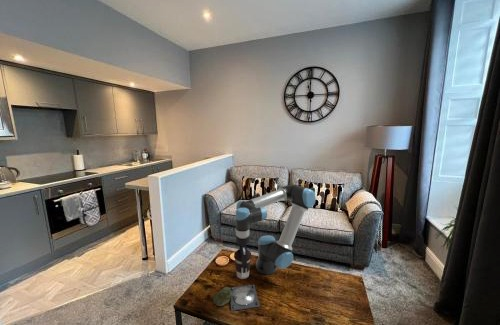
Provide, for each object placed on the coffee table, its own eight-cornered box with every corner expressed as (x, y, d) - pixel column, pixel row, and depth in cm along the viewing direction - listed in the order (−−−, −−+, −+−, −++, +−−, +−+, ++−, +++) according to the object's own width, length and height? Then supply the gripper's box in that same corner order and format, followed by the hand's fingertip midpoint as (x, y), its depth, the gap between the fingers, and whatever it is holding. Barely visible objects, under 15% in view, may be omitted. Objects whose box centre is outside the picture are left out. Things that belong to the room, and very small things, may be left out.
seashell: (209, 302, 121) (216, 283, 125) (213, 301, 127) (220, 283, 132) (225, 309, 118) (232, 289, 122) (229, 308, 124) (235, 289, 129)
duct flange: (254, 285, 135) (254, 283, 135) (259, 306, 120) (259, 304, 120) (229, 289, 133) (229, 286, 132) (231, 311, 117) (231, 308, 117)
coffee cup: (254, 274, 124) (254, 251, 121) (242, 283, 117) (242, 259, 114) (242, 266, 130) (242, 244, 128) (230, 275, 123) (230, 251, 121)
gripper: (234, 227, 129) (234, 260, 133) (238, 246, 108) (238, 285, 112) (246, 226, 130) (246, 259, 134) (252, 245, 109) (252, 283, 113)
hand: (243, 271), depth 123 cm, fingers closed on coffee cup, 8 cm apart
